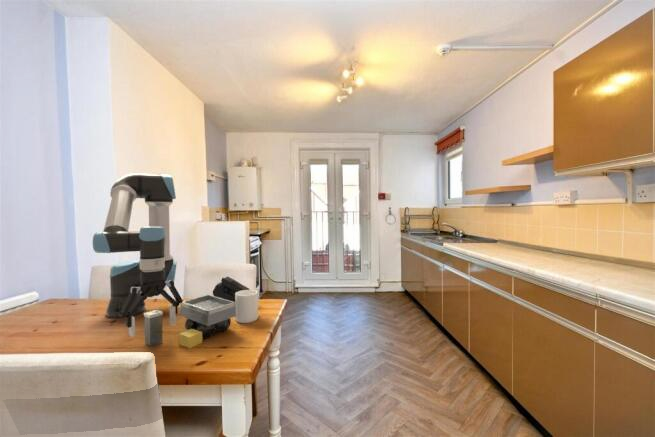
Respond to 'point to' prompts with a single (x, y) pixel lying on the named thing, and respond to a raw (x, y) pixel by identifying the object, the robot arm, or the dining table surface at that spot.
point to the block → (190, 338)
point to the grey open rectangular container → (208, 314)
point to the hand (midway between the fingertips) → (153, 329)
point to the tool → (228, 289)
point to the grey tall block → (153, 327)
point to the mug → (246, 306)
